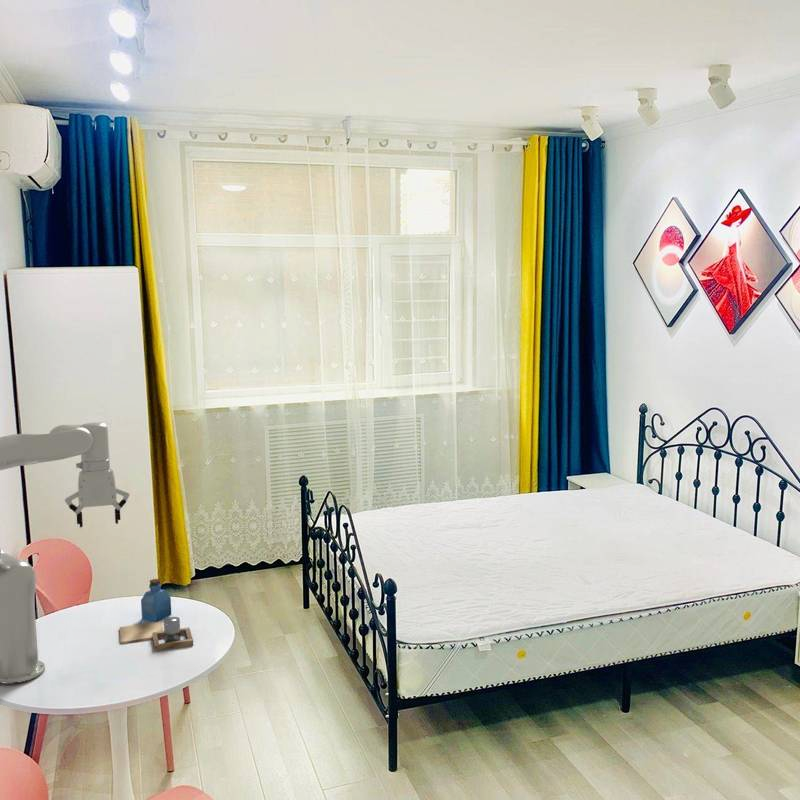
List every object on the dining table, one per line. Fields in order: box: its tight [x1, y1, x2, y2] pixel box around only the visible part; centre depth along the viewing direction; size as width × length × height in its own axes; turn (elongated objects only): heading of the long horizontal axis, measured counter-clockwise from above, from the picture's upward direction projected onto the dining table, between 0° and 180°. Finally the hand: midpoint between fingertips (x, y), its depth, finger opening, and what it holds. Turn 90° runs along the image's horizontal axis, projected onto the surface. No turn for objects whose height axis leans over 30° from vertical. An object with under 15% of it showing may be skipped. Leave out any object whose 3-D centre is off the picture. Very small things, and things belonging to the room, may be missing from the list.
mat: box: [119, 620, 165, 645], centre depth 237 cm, size 12×12×1 cm
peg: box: [163, 616, 182, 643], centre depth 230 cm, size 4×4×6 cm
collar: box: [152, 627, 194, 652], centre depth 231 cm, size 10×10×2 cm
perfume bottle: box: [140, 578, 172, 623], centre depth 249 cm, size 6×6×12 cm
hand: (99, 524), depth 232 cm, fingers open, 9 cm apart
